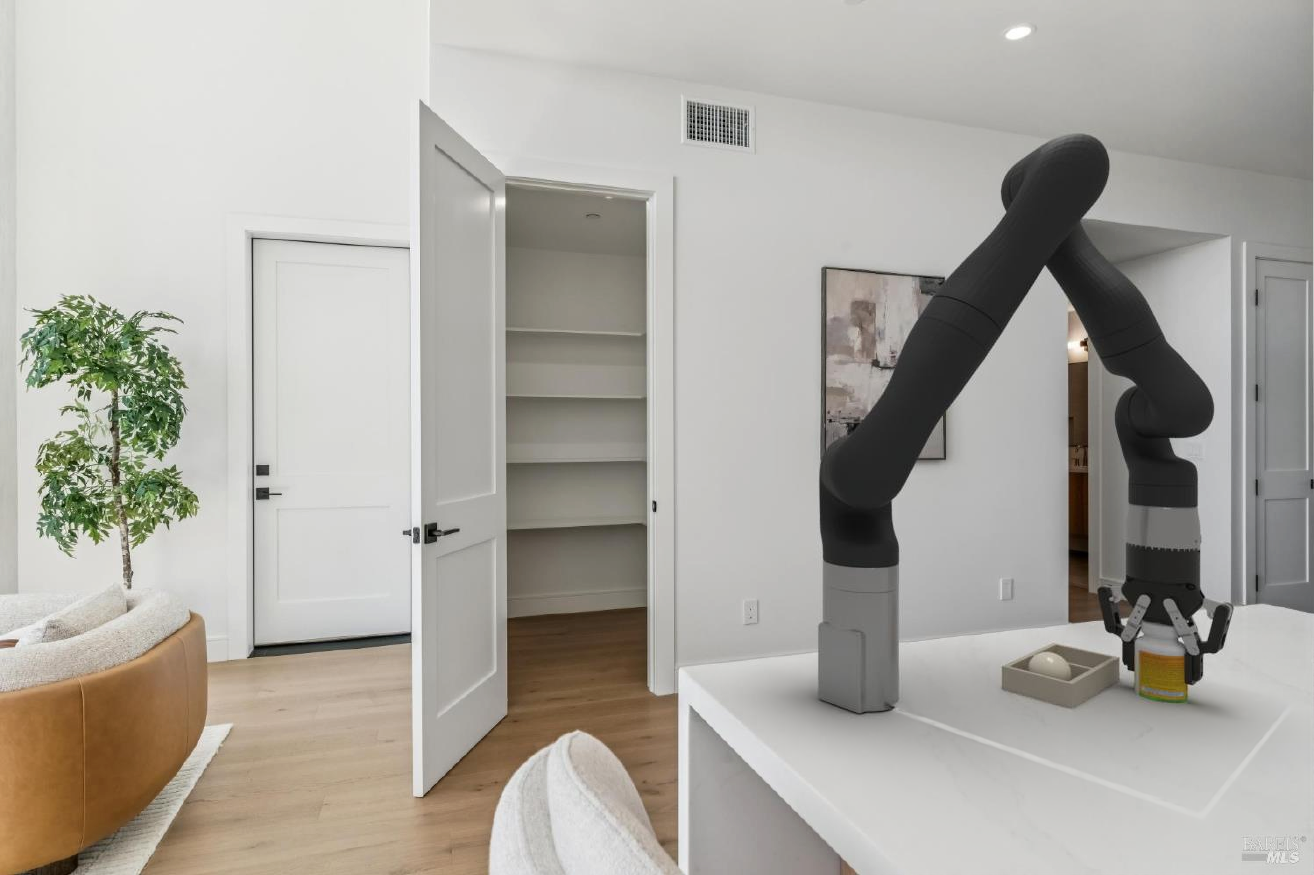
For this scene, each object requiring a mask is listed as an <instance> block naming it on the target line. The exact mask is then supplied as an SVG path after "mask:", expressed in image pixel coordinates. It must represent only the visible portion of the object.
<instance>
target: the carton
mask: <svg viewBox="0 0 1314 875" xmlns="http://www.w3.org/2000/svg"><path fill="white" fill-rule="evenodd" d="M1042 652H1051V653H1055V654H1057V655H1059V656H1061V657H1062V658H1063V659H1065V661H1066V662H1067V663H1068V664H1069V666H1070V669H1071V673H1072V676H1071V681H1069V682H1068V681H1064V680H1060V679H1056V678H1053V677H1049V676H1045V675H1041V674H1037V673H1033V672H1029V671H1028V666H1029V662H1030V660H1031V659H1032V658H1033V657H1034V656H1035V655H1037V654H1039V653H1042ZM1120 664H1121V662H1120V657H1119V656H1117V655H1116V656H1115V655H1110V654H1105V653H1102V652H1101V653H1100V652H1096V651H1093V650H1088V649H1083V648H1078V647H1074V646H1070V645H1069V646H1068V645H1064V644H1060V643H1055V642H1052V643H1050V644H1048V645H1046V646H1043V647H1041V648H1039V649H1037V650H1034V651H1032V652H1030V653H1027V654H1025V655H1023V656H1021V657H1019V658H1017V659H1014V660H1012V661H1009V662H1007V663H1006V664H1003V665H1001V689H1002V690H1005V691H1008V692H1011V693H1014V694H1019V695H1022V696H1025V697H1029V698H1031V699H1034V700H1035V699H1036V700H1039V701H1043V702H1047V703H1048V704H1049V703H1050V704H1052V705H1056V706H1060V707H1065V708H1067V709H1071V710H1073V709H1075V708H1076V707H1077V706H1079V705H1080V704H1083V703H1084V702H1085V701H1087V700H1089V699H1090V698H1092V697H1093V696H1095V695H1097V694H1098V693H1100V692H1101V691H1103V690H1104V689H1106V688H1108V687H1110V686H1112V685H1113V684H1115V683H1117V682H1118V681H1120Z"/></svg>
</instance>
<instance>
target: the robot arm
mask: <svg viewBox="0 0 1314 875" xmlns="http://www.w3.org/2000/svg"><path fill="white" fill-rule="evenodd" d="M1107 151H1108V150H1107V148H1106V147H1105V146H1104V144H1103V142H1101V140H1099V139H1098V138H1096V137H1094V136H1093V135H1092V134H1091V135H1090V134H1085V133H1076V132H1075V133H1069V134H1065V135H1061V136H1059V137H1058V136H1057V137H1056V138H1053V139H1051V140H1049V141H1047V142H1046V143H1043V144H1042V145H1040V146H1038V147H1037V148H1036V149H1035V150H1033V151H1031V152H1030V153H1029V154H1027V155H1025V156H1023V157H1022V158H1021V159H1020V160H1018V161H1017V162H1016V163H1015V164H1013V166H1011V167H1010V169H1008V170H1007V173H1006V174H1005V175H1004V177H1003V180H1002V182H1001V187H1000V188H1001V189H1000V197H1001V198H1000V199H1001V203H1002V206H1003V208H1004V210H1005V214H1003V217H1001V220H1000V221H999V222H998V224H997V225H996V227H994V229H993V230H992V231H991V232H990V233H989V234H988V236H987V237H986V238H985V239H984V240H983V241H982V242H981V243H980V244H979V245H978V246H977V247H976V248H975V249H974V250H973V251H972V252H971V253H970V254H969V255H968V256H967V257H966V258H965V259H964V260H963V261H962V262H961V263H960V264H959V265H958V266H957V268H955V269H954V271H953V272H952V273H951V274H950V275H949V276H948V277H947V278H946V280H944V282H943V283H942V284H941V285H940V287H939V288H937V291H936V292H935V293H934V294H933V295H932V297H931V299H930V300H929V302H928V303H927V305H926V306H925V308H924V310H923V311H922V313H921V314H920V315H919V317H918V319H917V320H916V321H915V323H914V324H913V326H912V328H911V330H910V332H909V333H908V335H907V338H906V340H905V342H904V344H903V346H902V349H901V351H900V354H899V356H898V358H897V361H896V364H895V366H894V369H893V371H892V374H891V377H890V378H889V381H888V383H887V385H886V387H885V388H884V391H883V393H882V394H881V395H880V397H879V398H878V400H877V401H876V403H875V404H874V406H872V408H870V411H869V412H868V413H867V414H866V416H865V417H864V418H863V420H862V421H861V422H860V423H859V424H858V426H857V427H856V428H855V429H854V430H853V431H852V433H851V434H848V435H844V436H841V437H838V438H837V439H835V440H833V442H831V443H830V444H829V445H828V446H827V447H826V449H825V451H824V452H823V454H822V457H821V460H820V464H819V471H818V472H819V473H818V474H819V475H818V476H819V477H818V483H819V484H818V485H819V486H818V490H819V491H818V493H819V494H818V495H819V498H818V499H819V533H820V539H821V545H822V546H821V547H822V622H819V623H818V627H817V632H818V633H817V634H818V635H817V640H818V641H817V643H818V644H817V646H818V648H817V653H818V654H817V661H818V662H817V667H818V669H817V677H818V678H817V687H818V688H817V692H818V693H817V694H818V695H817V697H818V699H819V700H822V701H824V702H827V703H829V704H833V705H835V706H837V707H840V708H843V709H845V710H848V711H851V712H854V713H856V714H857V713H858V714H861V713H864V712H865V713H866V712H881V711H887V710H891V709H893V708H895V706H893V705H895V704H897V703H898V702H899V700H900V544H899V541H898V538H897V535H896V531H895V528H894V522H893V500H894V499H895V498H896V497H897V496H898V494H900V492H901V491H902V489H903V487H904V486H905V484H906V483H907V481H908V478H909V476H910V475H911V472H912V471H913V469H914V467H915V465H916V463H917V461H918V459H919V457H920V455H921V454H922V452H923V449H924V447H925V446H926V444H927V442H928V440H929V438H930V436H931V435H932V433H933V431H934V429H935V428H936V426H937V425H938V423H939V422H940V420H941V418H942V417H943V416H944V414H945V413H946V412H947V411H948V409H950V407H951V406H952V405H953V403H954V402H955V401H956V399H957V398H958V397H959V395H960V394H961V392H962V391H963V389H965V387H966V385H967V384H968V383H969V381H970V380H971V379H972V377H973V375H974V374H975V373H976V371H977V370H978V369H979V367H980V366H981V365H982V363H983V362H984V361H985V359H986V357H987V356H988V355H989V353H991V350H992V349H993V347H994V346H995V345H996V343H997V342H998V340H999V339H1000V337H1001V335H1003V332H1004V331H1005V329H1006V328H1007V325H1008V324H1009V323H1010V321H1011V319H1012V318H1013V317H1014V315H1015V313H1016V312H1017V310H1019V307H1020V306H1021V304H1022V303H1023V301H1024V300H1025V298H1026V296H1027V295H1028V294H1029V292H1030V291H1031V289H1032V287H1033V285H1034V284H1035V283H1036V282H1037V281H1036V280H1037V279H1038V277H1039V275H1040V274H1041V273H1042V270H1043V269H1044V268H1047V271H1048V272H1049V273H1050V274H1051V275H1052V277H1053V278H1054V280H1055V281H1056V283H1057V284H1058V286H1059V287H1060V289H1061V290H1062V291H1063V293H1064V295H1065V296H1066V298H1067V299H1068V300H1069V302H1070V305H1071V306H1072V307H1073V309H1074V312H1075V313H1076V314H1077V316H1078V318H1079V320H1080V322H1081V324H1082V326H1083V328H1084V330H1085V332H1086V334H1087V336H1088V338H1089V340H1090V342H1091V344H1092V345H1093V347H1094V348H1093V349H1095V350H1094V351H1096V352H1095V353H1096V354H1097V356H1098V357H1099V360H1100V362H1101V364H1102V365H1103V367H1104V368H1105V369H1106V371H1107V372H1108V373H1110V374H1111V375H1113V376H1117V377H1122V378H1125V379H1129V380H1130V381H1132V382H1133V383H1134V384H1135V385H1132V386H1131V387H1129V388H1127V389H1126V390H1125V391H1123V392H1122V394H1121V395H1120V397H1119V399H1118V401H1117V403H1116V406H1115V411H1114V425H1115V430H1116V435H1117V437H1118V443H1119V446H1120V448H1121V453H1122V456H1123V459H1124V462H1125V464H1126V467H1127V470H1128V487H1127V488H1128V491H1127V492H1128V493H1127V495H1128V499H1127V500H1128V508H1127V514H1126V519H1125V579H1124V582H1123V584H1122V585H1114V586H1113V585H1112V584H1105V585H1103V586H1100V587H1098V588H1097V591H1096V593H1097V597H1098V600H1099V607H1100V610H1101V616H1102V620H1103V624H1104V629H1105V631H1106V633H1108V634H1113V635H1115V636H1116V637H1118V638H1120V640H1121V642H1122V645H1121V652H1122V653H1121V656H1122V657H1121V661H1122V663H1123V665H1124V666H1127V671H1128V672H1133V673H1134V645H1135V640H1136V639H1137V638H1138V637H1139V635H1140V633H1141V621H1142V620H1145V621H1148V622H1161V623H1163V624H1166V625H1170V626H1175V628H1176V630H1177V633H1178V634H1179V636H1180V639H1181V640H1182V643H1183V644H1185V646H1186V649H1187V651H1188V653H1186V654H1185V684H1188V685H1189V686H1194V685H1196V684H1197V682H1199V681H1201V680H1202V678H1203V677H1204V655H1205V654H1211V655H1215V654H1217V653H1219V651H1222V650H1223V648H1224V647H1225V643H1226V640H1227V635H1228V632H1229V628H1230V624H1231V622H1232V620H1231V619H1232V617H1233V614H1234V610H1235V608H1234V605H1233V604H1231V602H1219V601H1216V600H1213V599H1211V598H1210V599H1209V598H1207V597H1206V596H1205V594H1204V593H1203V590H1202V588H1201V544H1202V535H1201V521H1200V520H1201V519H1200V516H1199V507H1198V506H1199V505H1198V504H1199V497H1198V496H1199V488H1198V487H1199V478H1198V477H1199V475H1198V474H1199V473H1198V469H1197V466H1196V465H1195V463H1194V462H1192V461H1191V460H1188V459H1186V458H1183V457H1180V456H1178V455H1176V453H1175V452H1174V449H1173V446H1172V443H1171V439H1188V438H1194V437H1196V436H1199V435H1200V434H1202V433H1204V432H1205V431H1207V430H1208V429H1209V427H1210V425H1211V423H1212V422H1213V420H1214V415H1215V403H1214V402H1215V401H1214V398H1213V395H1212V393H1211V391H1210V389H1209V388H1208V386H1207V384H1206V382H1204V380H1203V379H1202V378H1201V376H1200V375H1199V374H1198V373H1197V372H1196V371H1195V370H1194V369H1193V367H1192V366H1191V365H1190V364H1189V363H1188V362H1187V361H1186V360H1185V359H1184V358H1183V356H1182V355H1181V354H1180V353H1179V352H1178V351H1177V350H1176V349H1174V347H1173V346H1171V344H1170V343H1168V341H1167V338H1166V337H1165V334H1164V331H1163V330H1162V328H1161V325H1160V324H1159V322H1158V320H1157V318H1156V316H1155V315H1154V312H1153V310H1152V308H1151V306H1150V304H1149V302H1148V301H1147V299H1146V297H1145V296H1144V295H1143V293H1142V292H1141V290H1140V289H1139V288H1138V287H1137V285H1135V284H1134V282H1132V280H1130V279H1129V278H1128V277H1127V276H1126V275H1125V274H1124V273H1123V272H1122V271H1120V270H1119V269H1118V268H1117V267H1116V266H1115V265H1114V264H1113V263H1111V261H1109V260H1108V259H1107V257H1105V256H1104V254H1103V253H1101V252H1100V250H1099V249H1098V248H1097V247H1096V246H1095V244H1094V243H1093V241H1091V239H1090V237H1089V236H1088V234H1087V233H1086V230H1085V229H1084V227H1083V224H1082V223H1081V220H1082V219H1083V218H1084V216H1086V214H1087V213H1088V212H1089V211H1090V210H1091V208H1092V207H1093V206H1094V205H1095V204H1096V202H1097V201H1098V199H1099V198H1100V197H1101V195H1102V194H1103V192H1104V191H1105V188H1106V186H1107V184H1108V180H1109V175H1110V169H1111V168H1110V166H1111V163H1110V157H1109V154H1108V152H1107ZM1122 595H1123V597H1124V598H1125V600H1127V602H1128V604H1130V606H1131V608H1132V612H1131V614H1130V615H1129V617H1128V619H1127V621H1126V625H1124V624H1122V619H1121V614H1120V609H1119V605H1118V603H1119V602H1120V601H1121V599H1122V598H1121V597H1122ZM1202 607H1203V608H1204V609H1205V610H1206V616H1207V617H1208V619H1210V620H1212V622H1211V625H1210V629H1209V633H1208V636H1207V640H1203V639H1202V637H1201V634H1200V632H1199V627H1198V625H1197V623H1196V621H1195V619H1194V617H1193V616H1194V615H1195V614H1196V613H1197V612H1198V611H1199V610H1200V609H1201V608H1202Z"/></svg>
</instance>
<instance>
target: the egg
mask: <svg viewBox="0 0 1314 875" xmlns="http://www.w3.org/2000/svg"><path fill="white" fill-rule="evenodd" d="M1028 671H1029V672H1033V673H1037V674H1041V675H1045V676H1049V677H1053V678H1056V679H1060V680H1064V681H1068V682H1069V681H1071V676H1072V673H1071V669H1070V666H1069V664H1068V663H1067V662H1066V661H1065V659H1063V658H1062V657H1061V656H1059V655H1057V654H1055V653H1051V652H1042V653H1039V654H1037V655H1035V656H1034V657H1033V658H1032V659H1031V660H1030V662H1029V666H1028Z"/></svg>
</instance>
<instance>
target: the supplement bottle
mask: <svg viewBox="0 0 1314 875" xmlns="http://www.w3.org/2000/svg"><path fill="white" fill-rule="evenodd" d="M1140 633H1142V634H1143V635H1140V636H1138V637H1137V639H1136V640H1135V645H1134V672H1133V673H1134V674H1133V675H1134V676H1133V678H1134V679H1133V680H1134V681H1133V682H1134V683H1133V687H1134V688H1133V689H1134V690H1133V691H1134V694H1135V695H1137V696H1138V697H1140V698H1142V699H1145V700H1147V701H1151V702H1153V703H1158V704H1165V705H1176V706H1177V705H1178V706H1179V705H1186V704H1187V703H1188V702H1189V688H1188V687H1189V686H1188V684H1185V654H1186V653H1188V651H1187V649H1186V646H1185V644H1184V642H1183V641H1180V640H1179V639H1181V637H1180V636H1179V634H1178V633H1177V630H1176V628H1175V626H1170V625H1166V624H1163V623H1161V622H1148V621H1145V620H1142V621H1141V631H1140Z"/></svg>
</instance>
